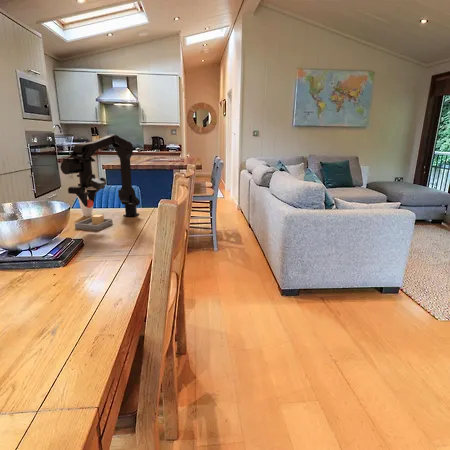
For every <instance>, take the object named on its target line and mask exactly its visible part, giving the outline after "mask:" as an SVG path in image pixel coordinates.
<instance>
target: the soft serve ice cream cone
mask: <svg viewBox="0 0 450 450" xmlns="http://www.w3.org/2000/svg"><path fill="white" fill-rule="evenodd" d="M76 197H77V199H78V201H79V207H80V210H81V213H82V216H83V217H88V218H89V217H91V216H93V209H94V205H93V206H92V207H91V208H87V207H85V206H84V204H83V203H82V201H81V200H80V198H79V197H78V196H77V195H76ZM88 199H89V198H88V195H87V200H88Z"/></svg>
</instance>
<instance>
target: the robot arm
mask: <svg viewBox="0 0 450 450" xmlns="http://www.w3.org/2000/svg"><path fill="white" fill-rule="evenodd" d="M109 146H111V147H112V148H114V149H115V152H116V155H117V157H118V158H119V162H120V164H119V165H120V178H121V179H120V180H121V188H120V189H118V190H117V192H118V195H117V196H118V198H119V201H120V203H121V205H125V206H124V210H125V211H124V212H125V214H123V215H122V216H123V217H130V218H135V217H137V216H138V215H140V213H139V212H138V211H137V207H138V206H139V205H140V203H141V201H140V199H139V198H138V197H137V196H136V191H135V189H134V188H133V186H132V171H131V170H132V168H131V158H132V156H133V151H134V146H133V144H132V143H131V142H130V141H128V140H126V139H124V138H122V137H120V136H118V135H117V134H111V133H109V134H107V135H106V136H103V137H101V138H97V139H95V140H92V141H90V142H89V141H88V142H80V143H76V144H74V147H73V149H72V152H71V154H70V156H69V157H68V158H67V157H64V158H62V161H61V163H60V166H59V167H60V171H61V172H62V174H64V175H73V174H76V177H77V178H79V183H77V185H72V186H69V187H68V188H67V192H68V194H70V195H76V197H77V196H78V197H79V198H80V200H81V201H82V203H83V204H84V206H85V207H87V195H88V198H89V199H90V200H92V201H93V203H94V202H95V200H96V199H95V198H96V195H97V193H98V192H99V191H101V190H102V189H105V188H106V185H107V179H106V178H105V177H100V178H98V177H96V174H95V173H93V166H92V163H94V162H96V159H94V157H92V156H94V155H95V154H96V152H97V151H98V150H102V149H104V148H106V147H109Z"/></svg>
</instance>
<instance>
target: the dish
mask: <svg viewBox="0 0 450 450" xmlns="http://www.w3.org/2000/svg"><path fill="white" fill-rule="evenodd" d="M112 225H113V219H112V218H104V222H103V223H101V224H99V225H95V224H92V217H91V216H90V217H88V218H86V219H84V220H80V221H78V222H75V223H74V228H75V229H76V230H83V231H84V230H85V231H95V232H99V231H100V230H103V229H105V228H107V227H109V226H112Z"/></svg>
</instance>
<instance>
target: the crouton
mask: <svg viewBox="0 0 450 450" xmlns="http://www.w3.org/2000/svg"><path fill="white" fill-rule="evenodd" d="M91 217H92V224H95V225H99V224H101V223H103V222H104V219H105V216H104V214H94V215H92V216H90V218H91Z"/></svg>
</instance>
